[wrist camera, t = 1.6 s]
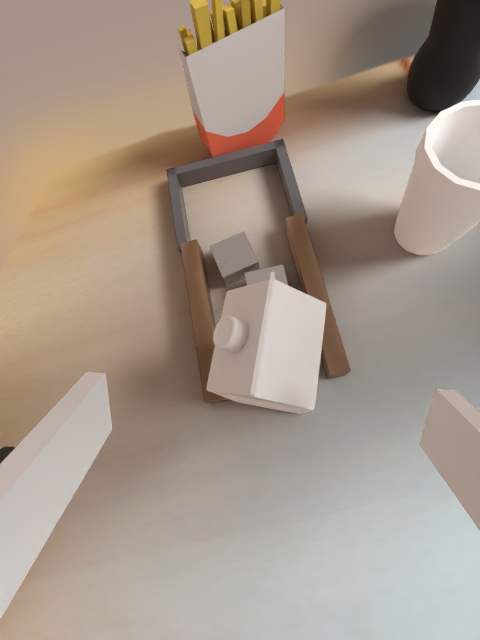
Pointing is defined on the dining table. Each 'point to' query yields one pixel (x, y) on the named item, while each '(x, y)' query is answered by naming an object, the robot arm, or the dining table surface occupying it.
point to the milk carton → (268, 347)
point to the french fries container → (235, 72)
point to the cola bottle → (447, 57)
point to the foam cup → (443, 183)
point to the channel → (310, 285)
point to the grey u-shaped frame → (228, 166)
